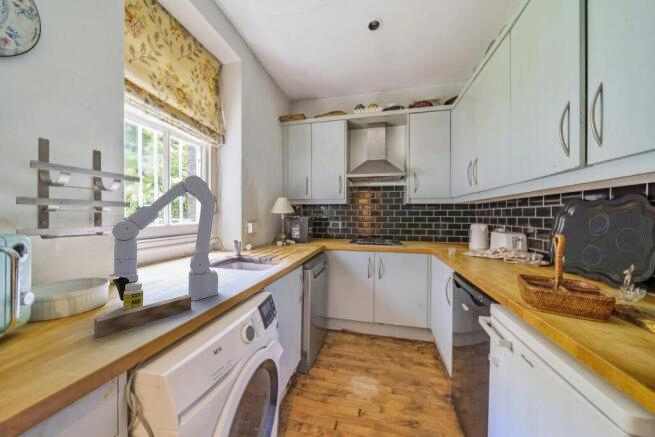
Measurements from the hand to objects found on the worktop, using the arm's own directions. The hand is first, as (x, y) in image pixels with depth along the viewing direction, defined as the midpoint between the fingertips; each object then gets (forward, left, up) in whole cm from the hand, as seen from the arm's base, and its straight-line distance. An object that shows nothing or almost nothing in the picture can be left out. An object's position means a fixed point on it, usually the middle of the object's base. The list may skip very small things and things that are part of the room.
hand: (125, 299), depth 77 cm
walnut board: (0, +18, -2) cm, 18 cm away
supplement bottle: (0, +7, -2) cm, 7 cm away
